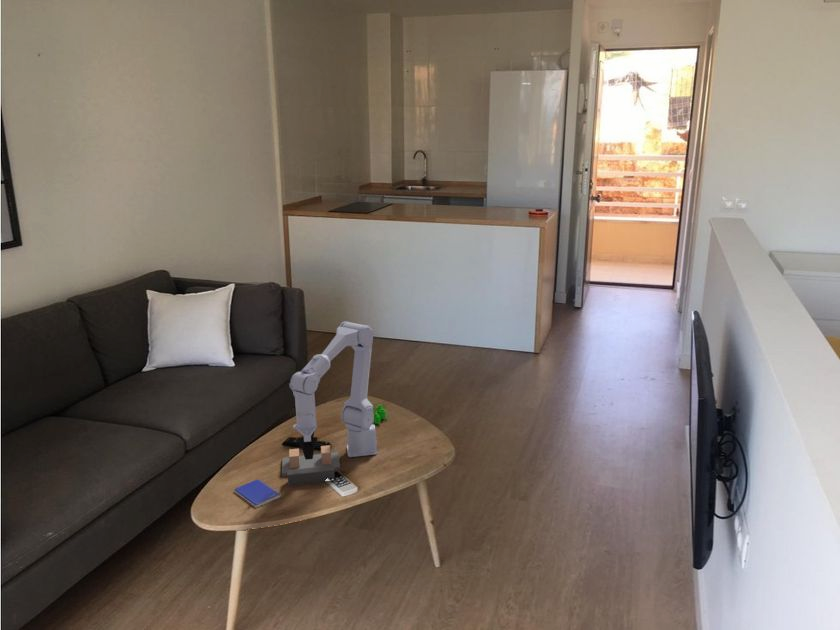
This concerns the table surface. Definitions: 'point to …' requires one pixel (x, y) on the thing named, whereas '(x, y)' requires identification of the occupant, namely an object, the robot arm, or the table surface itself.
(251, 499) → the hard drive
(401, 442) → the table surface
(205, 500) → the table surface
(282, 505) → the table surface
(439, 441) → the table surface
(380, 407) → the green bumpy cluster
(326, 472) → the dark gray bar
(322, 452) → the display stand
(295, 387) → the robot arm
